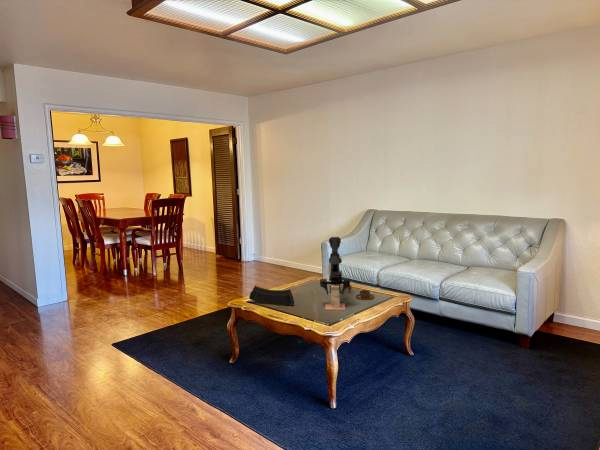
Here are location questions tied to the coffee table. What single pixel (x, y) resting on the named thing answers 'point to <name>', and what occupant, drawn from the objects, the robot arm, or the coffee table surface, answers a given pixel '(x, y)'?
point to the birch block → (334, 296)
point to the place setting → (363, 294)
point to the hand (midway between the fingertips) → (335, 294)
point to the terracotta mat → (341, 307)
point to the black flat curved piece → (271, 296)
